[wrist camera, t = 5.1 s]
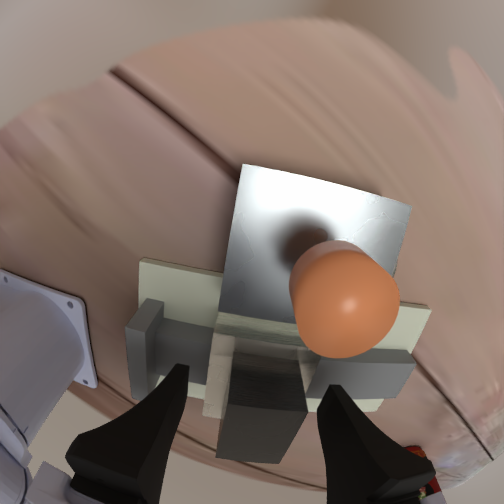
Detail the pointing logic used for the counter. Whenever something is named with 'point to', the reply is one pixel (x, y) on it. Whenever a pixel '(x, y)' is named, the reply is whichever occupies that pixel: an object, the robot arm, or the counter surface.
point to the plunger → (342, 299)
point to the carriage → (257, 386)
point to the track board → (205, 302)
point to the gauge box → (298, 235)
